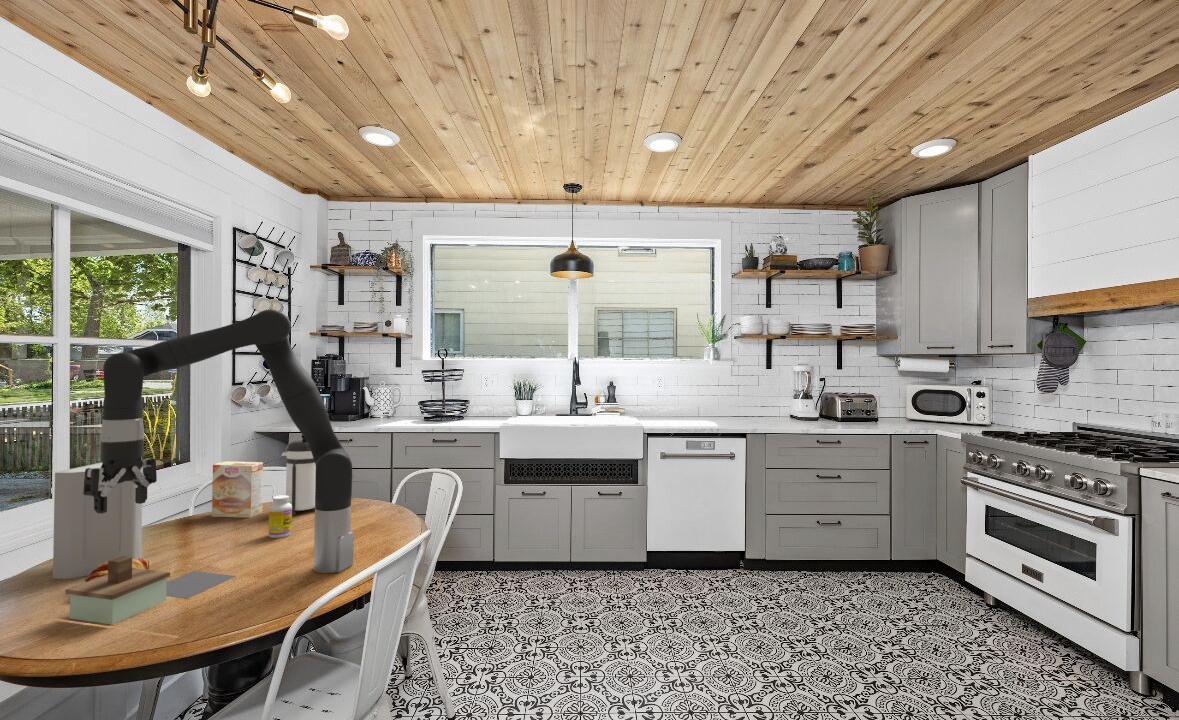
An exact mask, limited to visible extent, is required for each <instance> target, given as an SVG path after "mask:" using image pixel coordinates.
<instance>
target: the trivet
mask: <svg viewBox="0 0 1179 720" xmlns="http://www.w3.org/2000/svg"><path fill="white" fill-rule="evenodd" d="M235 577H237V575H232V574H231V575H229V574H222V573H213V572H205V571H198V570H197V571H196V570H192V571H190V572H187V573H186V574H183V575H180V576H178V577H176V578H172V579H170V580H169V581H166V597H172V598H178V599H179V598H180V599H188V600H189V599H190V598H192V597H194V596H196V595H199V594H201V593H203V592H205V591H207V590H209V589H212V588H214V587H216V586H218V585H220V584H223V583H225V582H227V581H229V580H232V579H234V578H235Z"/></svg>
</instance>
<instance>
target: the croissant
mask: <svg viewBox="0 0 1179 720" xmlns="http://www.w3.org/2000/svg"><path fill="white" fill-rule="evenodd" d="M151 566H152V561H151V559H145V558H142V557H141V558H139V559H132V568H137V569H145V570H150V567H151ZM107 574H108V562H105V563H103V564H101V565H99V566H98V567H97V568H95V569H94V570H93V571H92V572H91V574H90V575H88V577H87V578H86V579H85V581H84V583H85V582H87V581H90V580H93V579H96V578H99V577H101V576H104V575H107Z"/></svg>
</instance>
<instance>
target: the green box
mask: <svg viewBox="0 0 1179 720" xmlns="http://www.w3.org/2000/svg"><path fill="white" fill-rule="evenodd" d="M166 582H167V578H165V579H163V580H160V581H158V582H155V583H153V584H150V585H148V586H145V587H143V588H140V589H138V590H135V591H133V592H130V593H128V594H125V595H123V596H121V597H118V598H116V599H113V600H108V599H101V598H93V597H86V596H78V595H71V594H69V620H72V621H75V620H76V621H77V620H79V622H81V623H82V621H83V622H86V623H88V624H89V622H90V623H93V624H96V623H97V624H100V625H102V626H103V624H104V625H106V624H107V626H109V627H110V625H115V624H117V623H119V622H121V621H123V620H126V619H127V618H130V617H133V616H134V615H137V614H139V613H141V612H144V611H146V610H149V609H150V608H152V607H153V608H154V606H155V607H156V606H157V605H160V604H161V603H164V602H166V601H167V596H166Z"/></svg>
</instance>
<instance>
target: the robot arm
mask: <svg viewBox="0 0 1179 720" xmlns="http://www.w3.org/2000/svg"><path fill="white" fill-rule="evenodd" d="M291 329H292V324H291V321H290V319H289V316H287V315H286V314H285V313H283V312H282V311H279V310H277V309H265V310H262V311H259V312H257V313H256V314H254V315H251V316H249V317H247V318H245V319H241V320H240V321H237V322H234V323H231V324H227V325H224V326H220V327H217V328H213V329H209V330H205V331H200V332H196V333H192V334H187V335H184V336H179V337H175V338H172V339H171V338H170V339H168V340H167V339H166V340H164V341H161V342H157V343H155V344H153V345H149V346H144V347H141V348H135V349H131V350H126V351H121V352H118V353H114V354H111V356H109V357H107V358H106V359H105V361H104V364H103V368H102V370H103V371H102V372H103V387H104V388H103V389H104V398H103V402H102V423H101V428H100V460H101V462H102V466H101V468H87V469H86V470H85V478H84V490H83V494H84V495H88V496H93V497H94V510H95V511H96V513H106V512H107V496H106V495H107V493H108V492H109V490H110V489H111V488H113V487H114V486H115V485H116V483H122V482H124V481H132V482H133V483H134V484H135V485H136V486H138V487H137V488H135V502H136V503H138V504H142V505H143V504H145V503H146V501H147V500H148V487H149V486H150V485H151V484H156V482H157V479H158V478H157V477H158V476H157V475H158V474H157V460H156V458H152V457H151V458H150V457H149V458H148V457H145V458H143V459H142V457H143V456H144V449H145V448H144V443H145V439H144V438H145V434H144V433H145V428H144V427H145V426H144V420H143V418H144V417H143V415H144V414H143V413H144V408H143V407H144V403H143V395H142V393H143V385H144V377H147V376H150V375H153V374H157V373H159V372H163V371H170V370H175V369H179V368H183V367H187V366H190V365H192V364H196V363H199V362H203V361H205V360H208V359H211V358H213V357H216V356H219V355H221V354H224V353H227V352H230V351H233V350H236V349H239V348H244V347H248V346H256V348H257V350H258V352H259V353H260V355H261V356H262V359H263V360H264V361H265V363H266V365H267V367H268V369H269V372H270V375H271V377H272V380H273V383H274V385H275V387H276V390H277V392H278V394H279V397H280V399H281V401H282V404H283V405H284V407H285V410H286V412H287V414H288V415H289V417H290V419H291V420H292V422H293V424H294V425H295V426H296V428H297V429H298V431H299V432H300V433H301V435H302V434H303V436H304V437H305V439H306V441H307V443H308V445H309V447H310V450H311V452H312V455H313V458H314V461H315V465H316V475H315V509H314V538H313V539H314V543H313V544H314V547H313V548H314V549H313V553H314V554H313V570H314V572H316V573H317V574H318V573H319V574H331V573H341V572H343V571H344V570H347V569H348V568H350V567H352V566H353V565H354V535H355V534H354V531H351V530H352V529H351V522H352V521H351V519H352V518H351V515H352V514H351V513H352V508H351V507H352V494H353V463H352V460H351V457H350V455H349V454H348V452H347V451H346V450H345V448H344V446H343V445H342V443H341V441H340V440H339V438H338V437H337V435H336V433H335V430H334V429H333V427H332V424H331V420H330V417H329V414H328V410H327V408H326V404H325V403H324V400H323V397H322V395H321V393H320V391H319V388H318V387H317V384H316V383H315V381H314V379H313V378H312V377H311V375H310V374H309V372H308V371H307V370H306V369H305V367H304V366H303V365H302V364H301V362H300V361H299V360H298V358H297V356H296V354H295V352H294V350H293V347H292V345H291V343H290V340H289V335H290V333H291ZM142 467H143V474H142V473H141V472H140V469H141V468H142ZM101 473H102V474H103V477H102V478H101V479H100V481H99V477H100V476H101ZM107 481H109V482H107Z"/></svg>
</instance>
